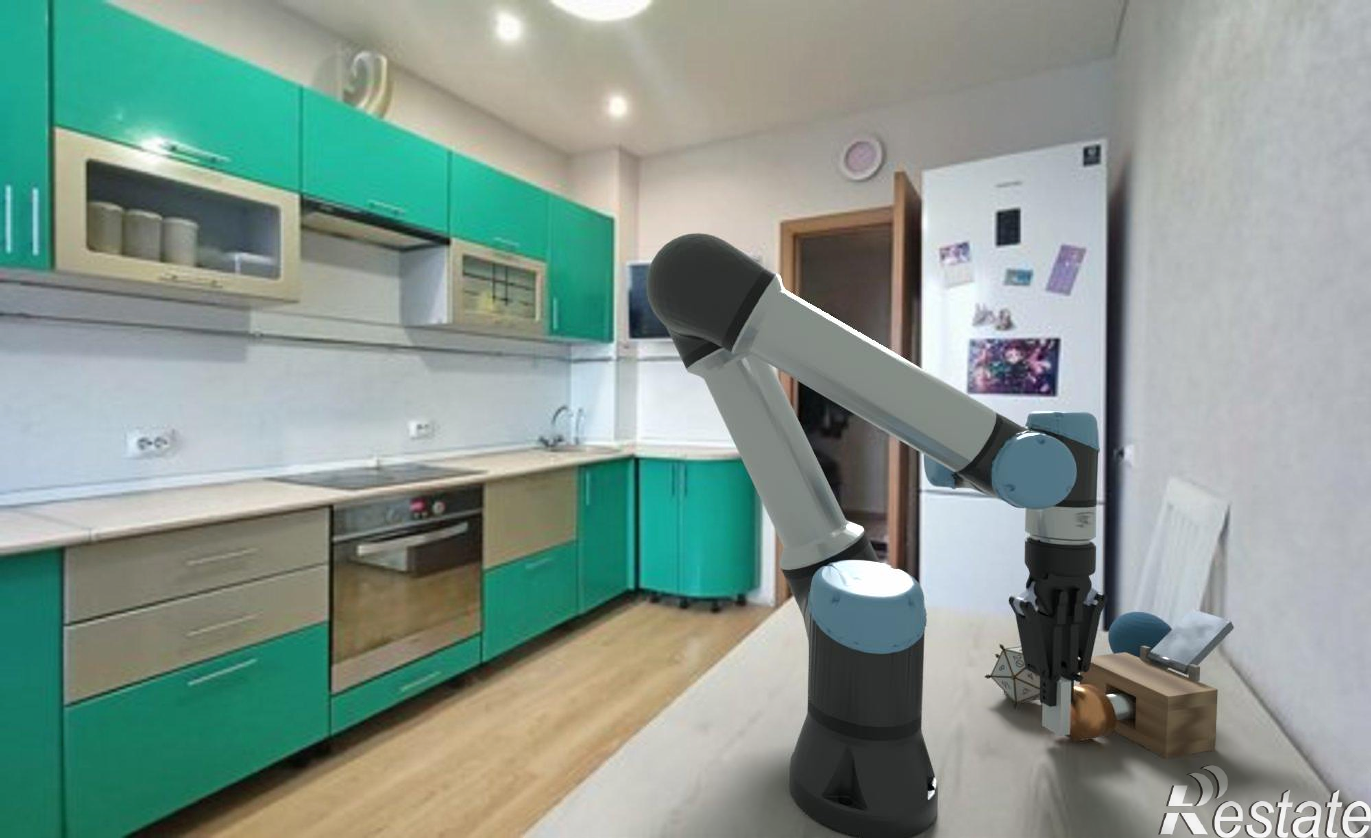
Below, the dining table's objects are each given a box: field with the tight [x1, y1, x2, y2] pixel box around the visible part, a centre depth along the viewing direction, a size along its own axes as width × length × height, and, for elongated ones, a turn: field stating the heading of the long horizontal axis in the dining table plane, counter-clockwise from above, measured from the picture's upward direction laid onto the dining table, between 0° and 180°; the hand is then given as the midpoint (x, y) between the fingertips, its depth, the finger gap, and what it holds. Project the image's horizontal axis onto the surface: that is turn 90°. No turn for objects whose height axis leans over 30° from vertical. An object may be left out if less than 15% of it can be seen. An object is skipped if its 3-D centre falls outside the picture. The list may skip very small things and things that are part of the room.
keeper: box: [1148, 609, 1235, 676], centre depth 86 cm, size 10×5×1 cm
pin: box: [1064, 684, 1136, 741], centre depth 82 cm, size 16×6×6 cm, turn 106°
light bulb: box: [1107, 611, 1173, 670], centre depth 93 cm, size 8×8×12 cm
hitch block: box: [1079, 646, 1219, 759], centre depth 84 cm, size 8×12×9 cm
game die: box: [984, 643, 1043, 710], centre depth 91 cm, size 9×8×10 cm
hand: (1055, 729), depth 79 cm, fingers closed
